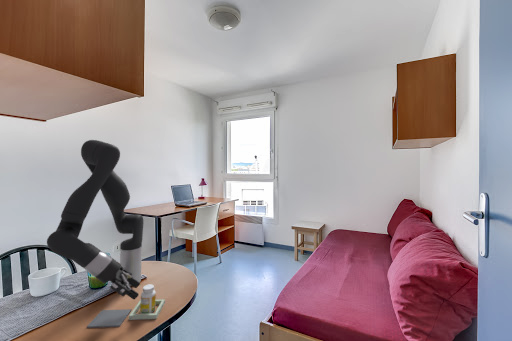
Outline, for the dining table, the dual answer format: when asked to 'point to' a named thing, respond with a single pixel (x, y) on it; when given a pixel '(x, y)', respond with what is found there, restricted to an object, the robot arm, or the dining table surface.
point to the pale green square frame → (150, 315)
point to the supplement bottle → (148, 299)
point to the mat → (109, 318)
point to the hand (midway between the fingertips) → (137, 291)
